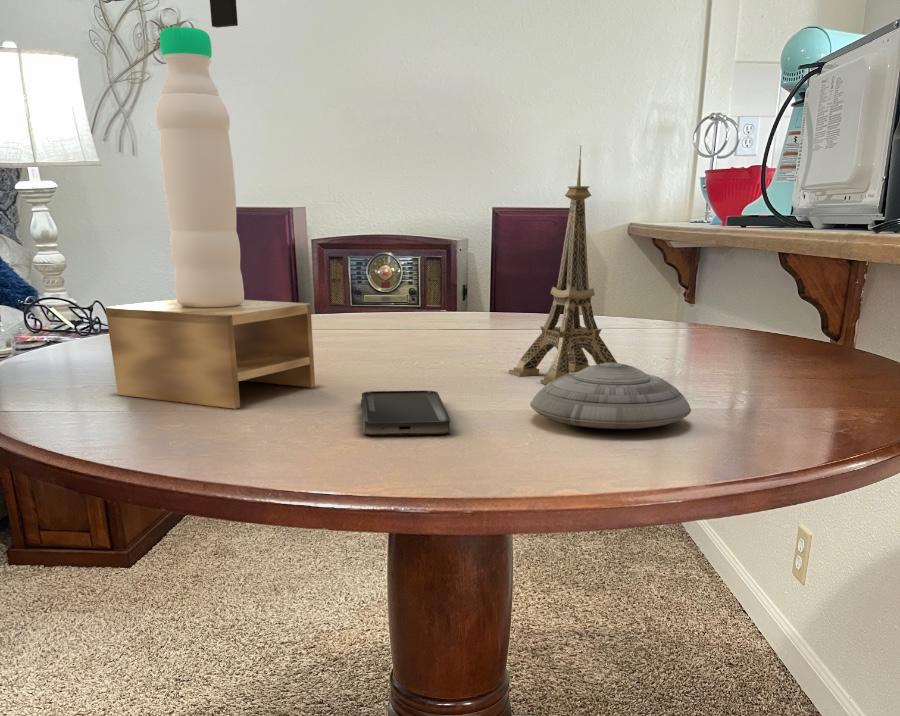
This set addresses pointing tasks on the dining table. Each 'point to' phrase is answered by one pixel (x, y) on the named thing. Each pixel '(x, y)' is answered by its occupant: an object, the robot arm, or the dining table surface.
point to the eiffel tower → (569, 305)
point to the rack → (209, 349)
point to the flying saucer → (611, 399)
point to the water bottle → (198, 175)
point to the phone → (403, 413)
